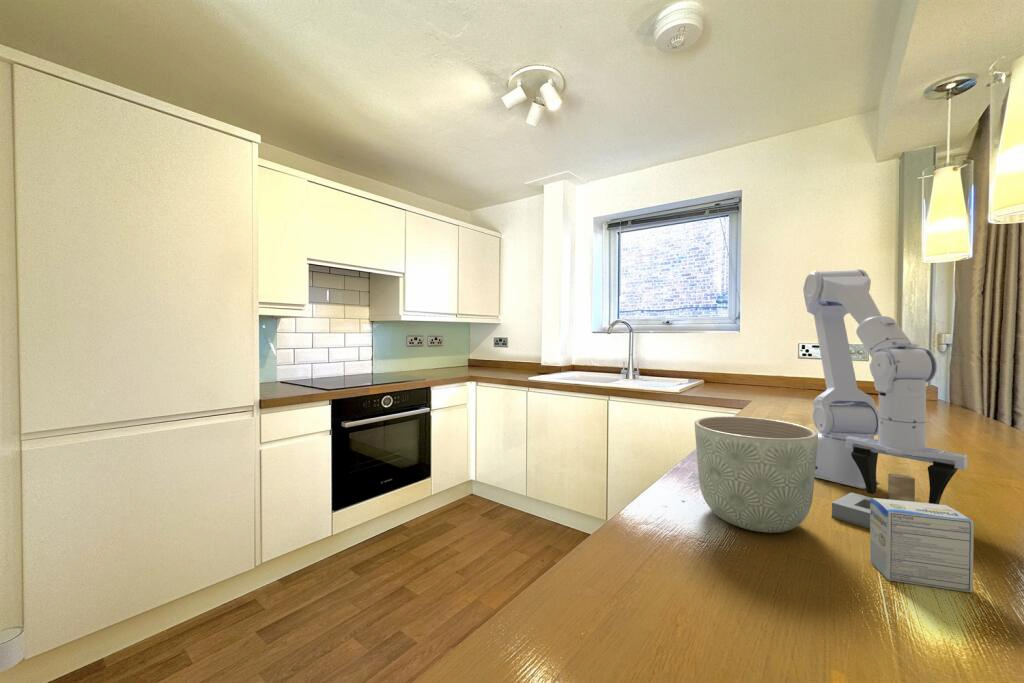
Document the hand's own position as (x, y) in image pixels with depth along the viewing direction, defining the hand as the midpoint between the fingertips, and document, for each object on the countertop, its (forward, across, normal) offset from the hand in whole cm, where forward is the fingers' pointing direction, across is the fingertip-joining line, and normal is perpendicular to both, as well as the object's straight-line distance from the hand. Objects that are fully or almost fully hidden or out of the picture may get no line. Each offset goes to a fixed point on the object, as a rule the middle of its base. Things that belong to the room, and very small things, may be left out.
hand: (901, 500), depth 67 cm
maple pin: (+2, 0, 0) cm, 2 cm away
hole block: (+2, -1, -8) cm, 8 cm away
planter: (+2, -12, -24) cm, 27 cm away
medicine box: (+2, +7, -23) cm, 24 cm away
